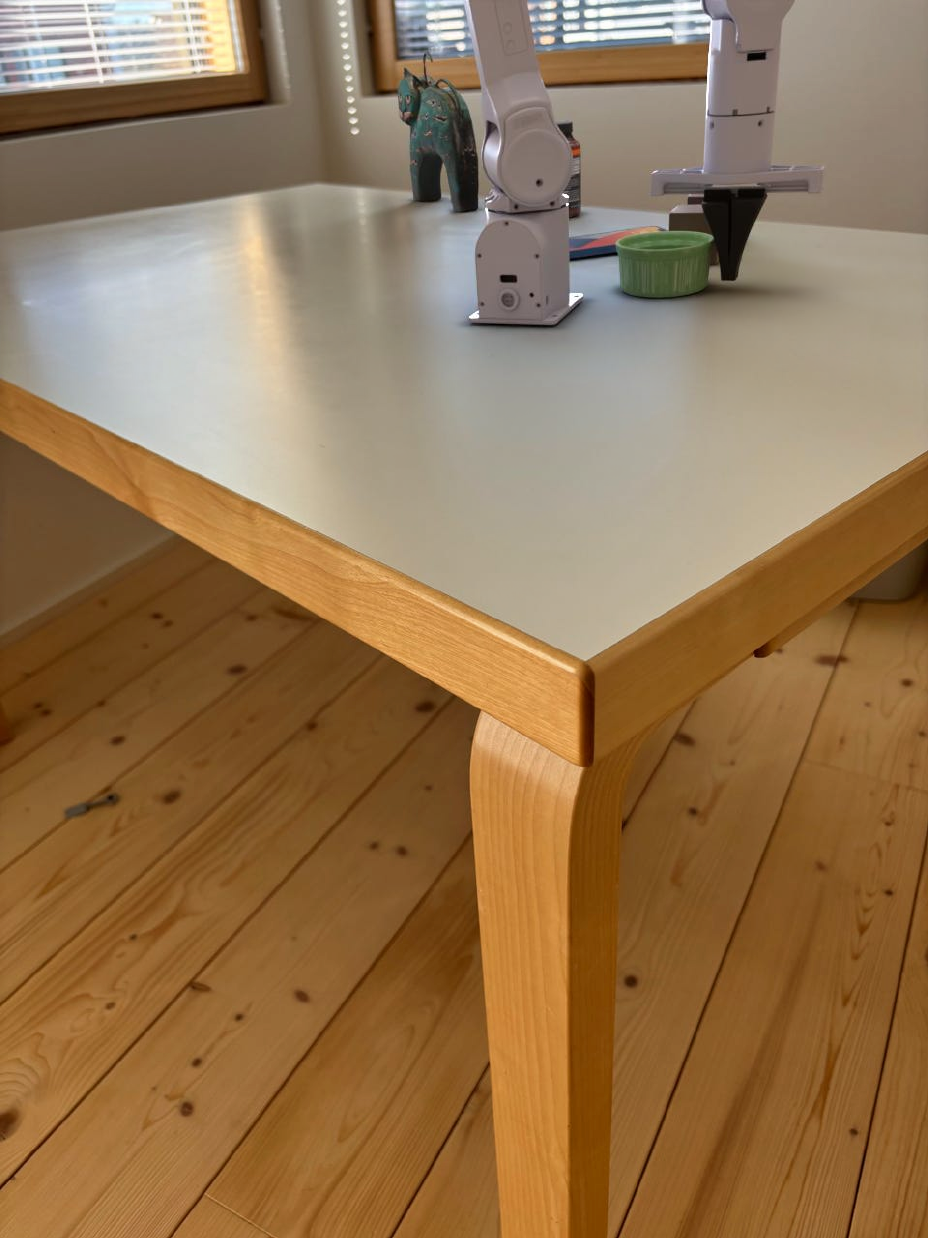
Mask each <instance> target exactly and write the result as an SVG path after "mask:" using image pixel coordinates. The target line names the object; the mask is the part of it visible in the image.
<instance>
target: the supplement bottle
mask: <svg viewBox="0 0 928 1238" xmlns="http://www.w3.org/2000/svg"><path fill="white" fill-rule="evenodd" d="M555 122H556V124H557V126H558V128H559V129H560V131H561V132H562V133H563V135H564V136H565V137H566V139H567V140H568V142H569V144H570V147H571V150H572V155H573V170H572V175H571V178H570V181H569V183H568V185H567V187H566V188H565V190H564V191H563V192H562V194H565V195H567V196H569V202H568V204H569V218H573V217H576V216H577V215H579V214H580V213H581V205H582V193H581V191H582V189H581V188H582V186H581V184H582V180H581V179H582V178H581V177H582V175H581V173H582V171H581V169H582V168H581V167H582V166H581V165H582V164H581V163H582V162H581V160H582V159H581V144H580V141H579V140H578V139H577V138H575V137H574V135H573V132H574V124H573V123H574V122H573V120H569V119H566V120H565V119H561V120H560V119H559V120H558V119H557V120H555Z"/></svg>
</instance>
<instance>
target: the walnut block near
mask: <svg viewBox="0 0 928 1238" xmlns="http://www.w3.org/2000/svg"><path fill="white" fill-rule="evenodd" d="M668 230H669V231H691V232H701V233H706V234H709V235H712V232H711V229H710V227H709V224H708V222H707V219H706V217H705V215H704V213H703V209H702V205H687V204H678V205H677V206H676V207H675V208H673V209H672V210H671V211H670V212H669V213H668ZM712 236H713V235H712ZM718 263H719V257H718V253H717V248H716V245H715V243H714V247H713V249H712V253H711V260H710V266H716V265H718Z"/></svg>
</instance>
